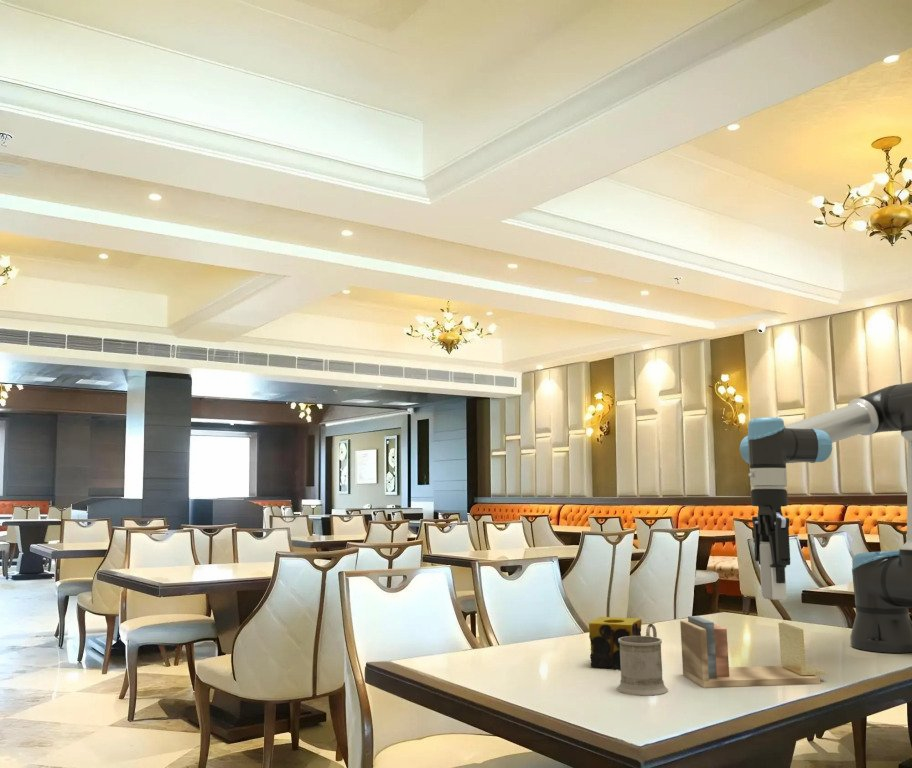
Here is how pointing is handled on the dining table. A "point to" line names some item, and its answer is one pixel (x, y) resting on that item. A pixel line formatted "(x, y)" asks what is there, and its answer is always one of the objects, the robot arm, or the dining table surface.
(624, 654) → the mug
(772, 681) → the shelf
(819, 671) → the bookend
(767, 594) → the beverage can
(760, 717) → the dining table surface
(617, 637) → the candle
